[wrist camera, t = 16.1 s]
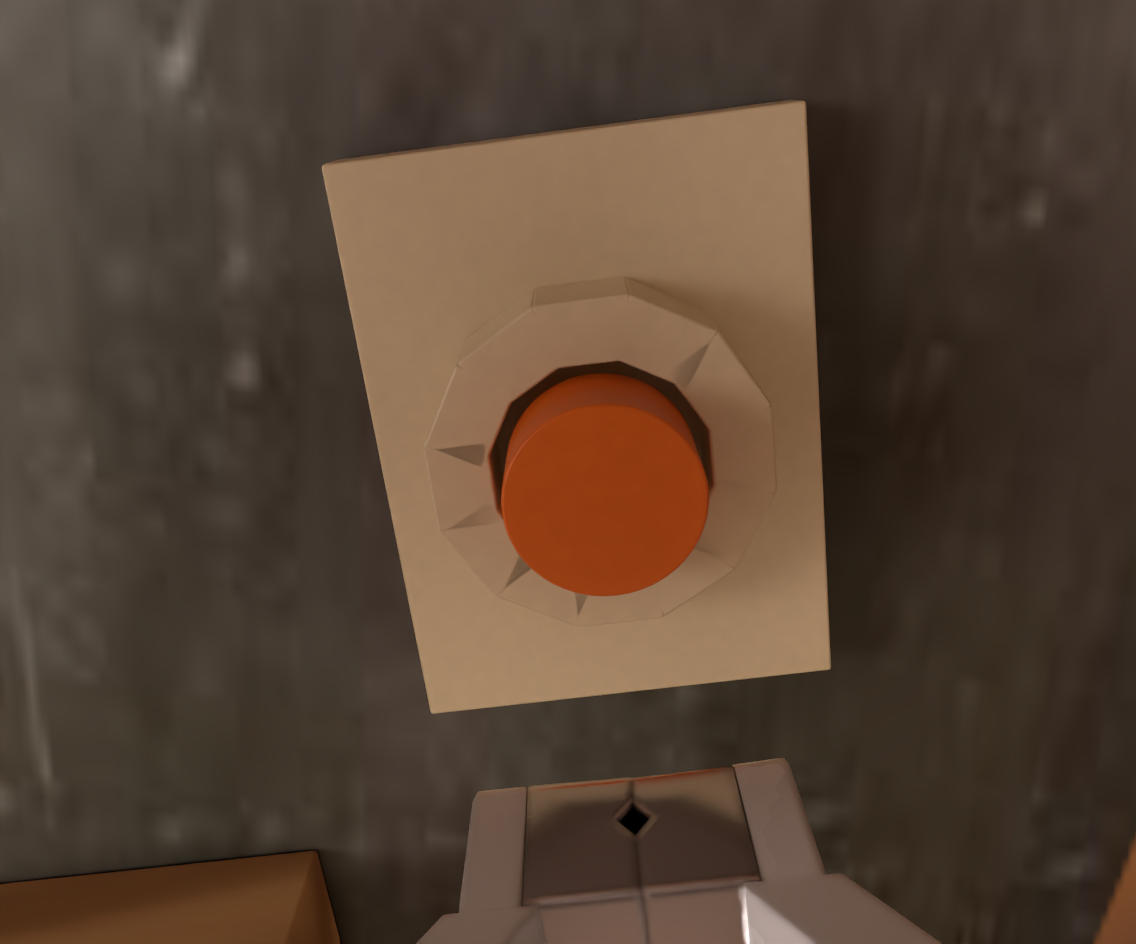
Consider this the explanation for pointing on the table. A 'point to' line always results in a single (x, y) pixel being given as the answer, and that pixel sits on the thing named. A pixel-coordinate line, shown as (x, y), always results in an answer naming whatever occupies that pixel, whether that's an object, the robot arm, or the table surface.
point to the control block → (589, 346)
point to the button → (603, 486)
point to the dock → (176, 905)
